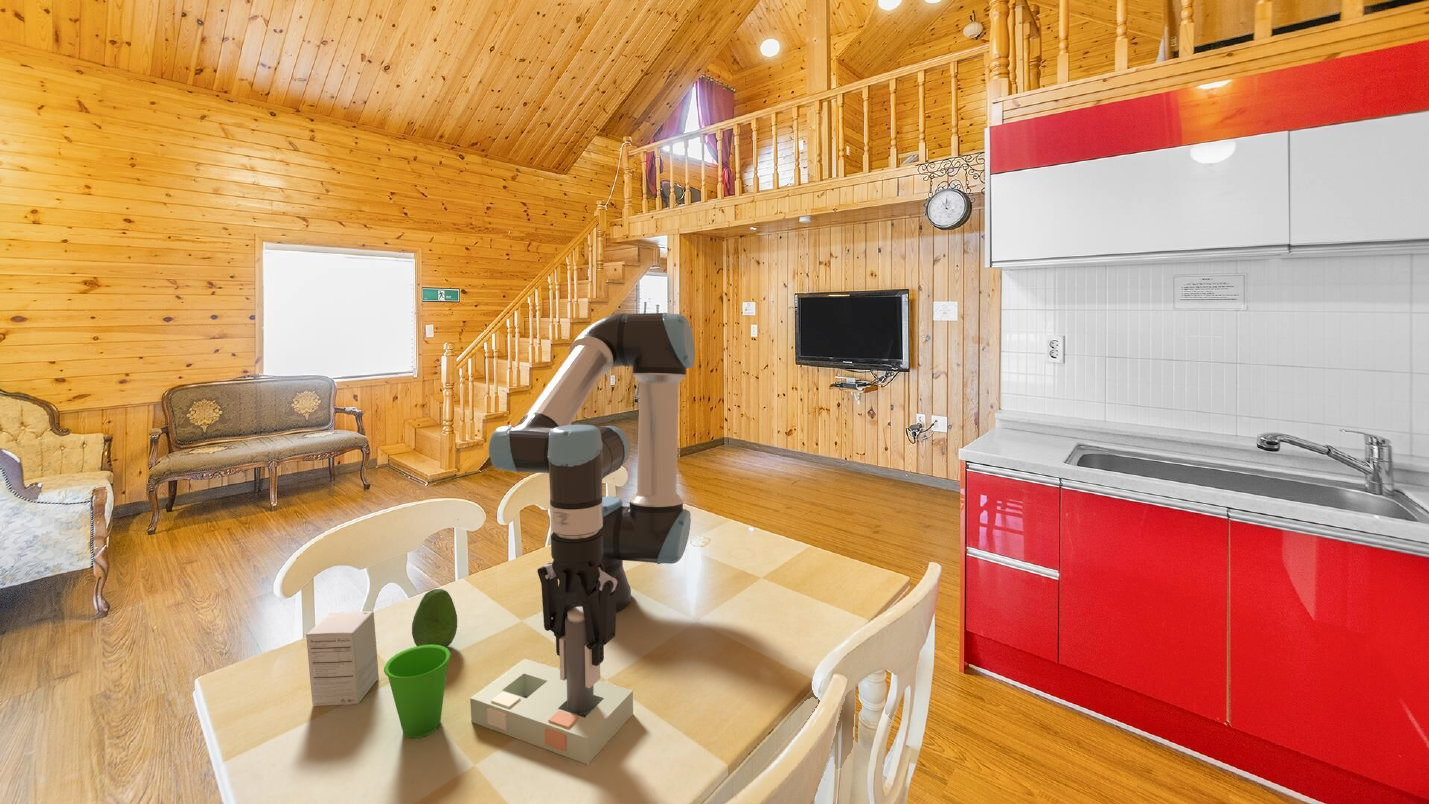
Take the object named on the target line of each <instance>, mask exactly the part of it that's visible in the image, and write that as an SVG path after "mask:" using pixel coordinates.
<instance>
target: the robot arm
mask: <svg viewBox="0 0 1429 804" xmlns="http://www.w3.org/2000/svg"><path fill="white" fill-rule="evenodd" d="M695 349H696V348H695V342H694V334H693V331H692V327H691V325H690V322H689V320H688V318H687V317H686V316H684V315H683V314H679V313H670V312H669V313H668V312H652V313H651V312H650V313H648V312H647V313H645V312H644V313H643V312H639V313H626V312H623V313H621V312H619V313H614V314H610V315H608V316H605V317H603V318H600V319H599V320H597V321H595V322H594V323H592V324H591V325H589V326H588V327H587V328H585V329H584V330H583V331H581V332H580V333H579V335H578V336H577V337H576V338H575V339H574V340H573V342H572V343H571V344H570V346H569V349H568V357H566V359H565V361H564V362H563V363H562V364H561V366H560V367H559V369H558V370H557V372H556V373H555V374H554V376H553V377H552V378H551V379H550V380H549V382H548V383H547V385H546V386H545V388H544V389H543V390H542V392H541V393H540V394H539V395H538V397H537V398H536V400H535V401H534V403H532V405H531V407H530V408H529V409H528V411H527V412H526V414H525V415H524V416H523V418H521V420H520V421H519V423H518V424H517V425H513V424H509V425H503V426H499V427H497V428H496V429H495V430H494V431H493V432H492V434H491V436H490V438H489V443H488V456H489V458H490V460H491V461H490V463H491V464H492V466H494V467H495V468H496V469H497V470H500V471H505V472H506V471H507V472H515V473H534V474H536V473H540V474H548V478H549V496H550V497H549V512H550V513H549V514H550V530H551V531H552V533H551V534H550V555H551V558H552V560H553V561H552V562H548V563H546V564H545V565H542V566H541V567H539V568H538V569H537V574H538V577H539V578H538V579H539V581H540V583H541V585H540V586H541V600H542V601H541V602H542V614H543V627H544V628H543V629H544V630H545V631H547V632H548V631H549V632H550V631H551V632H552V633H553V635H554V637H555V648H556V651H555V652H556V654H557V656H559V669H560V680H563V681H565V680H566V642H565V618H566V616H568V611H569V610H570V609H572V608H574V607H583V613H584V618H585V623H586V628H587V634H588V639H589V643H588V644H586V645H585V685H586V687H587V688H591V687H592V686H593V685H594V684H595V683H596V682H597V681H598V680H599V681H600V680H601V664H602V662H604V659H605V650H604V649H605V646H606V645H607V644H608V643H609V642H610V641H612V640H613V639H614V638H615V637H616V629H617V627H616V626H617V625H616V624H617V613H618V612H620V611H622V610H624V609H625V608H626V607H627V606H629V604H630V603H631V601H632V589H631V586H630V583H629V582H628V581H629V580H628V577H627V574H626V571H625V569H624V564H623V561H626V562H640V563H653V564H656V565H661V564H676V563H678V562H679V561H681V559H682V557H683V555H684V553H685V551H686V547H687V545H688V541H689V537H690V530H691V521H692V519H691V514H692V513H691V511H689V510H688V509H687V508H684V500H683V499H682V497H680V496H679V494H678V493H677V479H678V478H677V477H678V476H677V475H678V473H677V470H678V441H679V440H678V438H679V437H678V435H679V434H678V432H679V398H680V397H679V395H680V394H679V392H680V389H679V388H680V383H681V382H682V381H683V380H684V379H686V376H687V369H691V368H693V367H694V365H695V358H696V353H695V352H696V351H695ZM616 367H631V368H632V376H633V378H635V379H636V380H637V381H638V383H639V385H638V387H639V390H638V430H637V431H638V435H637V438H638V439H637V474H636V475H637V477H636V484H637V485H636V493H635V494H634V495H633V496H632V497H631V498H630V499H629V506H625V505H624V504H623V501H622V499H621V498H620V497H617V496H611V495H610V496H609V495H608V496H603V479H605V478H606V477H608V476H609V475H611V474H613V473H615V472H616V471H618V470H619V469H621V467H623V465H624V464H626V462H627V461H628V459H629V456H630V453H631V442H630V440H629V437H628V436H627V434H626V433H625V432H624V430H622V429H621V428H619V427H616V426H613V425H606V426H603V425H602V426H599V427H597V426H596V425H591V424H572V422H574V419H576V416H577V415H578V413H579V412H580V410H581V408H582V406H583V405H584V403H585V402H586V401H587V399H588V397H589V395H590V394H591V393H592V391H593V389H594V388H595V386H596V385H597V382H598V381H599V379H600V378H601V377H602V376H605V375H607V374H608V373H609V372H610V371H611V369H612V368H616Z"/></svg>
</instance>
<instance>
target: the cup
mask: <svg viewBox="0 0 1429 804" xmlns="http://www.w3.org/2000/svg"><path fill="white" fill-rule="evenodd" d="M451 657H452V656H451V652H450V650H449V649H448V647H447V648H446V647H444V646H440V645H422V646H416V645H415V646H413V647H410V648H407V649H405V650H402V651H400V652H398V653H396V654H395V655H393V656H391V657H390V658H389V659H388V661H387V662H386V663H385V665H384V667H383V672H384V674H385V675H386V676H387V677H388V681H389V685H390V690H391V693H392V696H393V701H394V705H395V709H396V711H397V715H398V719H399V723H400V726H401V730H402V732H403V734H404V736H406V737H407V738H411V739H417V738H423V737H425V736H428V735H430V734H432V733H434V731H436V730H437V729H438V727H439V725H440V723H441V720H442V714H443V713H442V712H443V704H444V696H445V689H446V680H447V670H448V664H449V661H451V660H450V659H451Z"/></svg>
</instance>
